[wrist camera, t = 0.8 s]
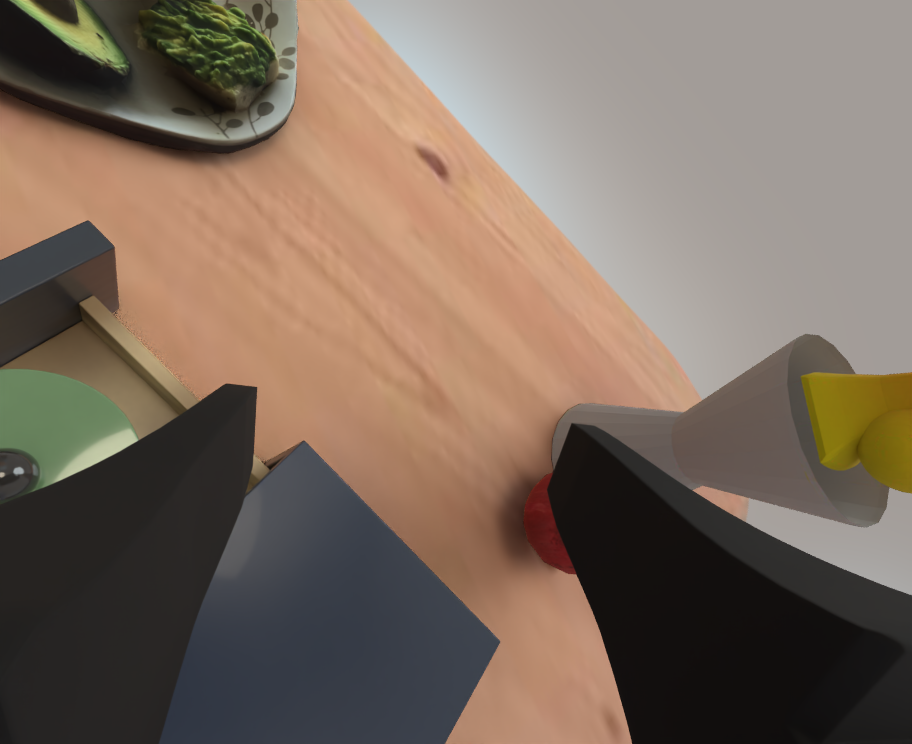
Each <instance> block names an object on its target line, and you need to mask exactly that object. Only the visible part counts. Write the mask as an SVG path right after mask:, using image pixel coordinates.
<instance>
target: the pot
mask: <svg viewBox="0 0 912 744" xmlns="http://www.w3.org/2000/svg"><path fill="white" fill-rule="evenodd" d="M138 440H139V438H138V436H137V434H136V432H135V430H134V427H133V425H132V424H131V422H130V421H129V419H128V418H127V416H126V415H125V414H124V413H123V411H122V410H121V409H120V408H119V407H118V406H117V405H116V404H115V403H114V402H113V401H111V400H110V399H109V398H108V397H107V396H105V395H104V394H102V393H101V392H99V391H98V390H96V389H95V388H93V387H91V386H89V385H87V384H85V383H83V382H81V381H78V380H76V379H73V378H70V377H67V376H64V375H60V374H56V373H51V372H47V371H40V370H31V369H0V504H2V503H5V502H8V501H10V500H13V499H15V498H18V497H20V496H23V495H25V494H28V493H30V492H33V491H35V490H38V489H40V488H43V487H46V486H48V485H51V484H53V483H55V482H57V481H60V480H62V479H64V478H66V477H69V476H71V475H73V474H75V473H77V472H79V471H81V470H84V469H86V468H88V467H90V466H92V465H94V464H96V463H98V462H100V461H102V460H104V459H106V458H108V457H110V456H112V455H114V454H116V453H117V452H119V451H121V450H123V449H125V448H126V447H128V446H130V445H131V444H133V443H135V442H137V441H138Z"/></svg>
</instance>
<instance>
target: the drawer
mask: <svg viewBox="0 0 912 744" xmlns="http://www.w3.org/2000/svg"><path fill="white" fill-rule="evenodd" d="M118 309H119V300H118V286H117V272H116V258H115V247H114V245H113V244H112V243H111V242H110V241H109V240H108V239H107V238H106V237H105V236H104V235H103V234H102V233H101V232H100V231H99V230H98V229H97V228H96V227H95V226H94V225H93V224H92V223H91V222H90V221H85V222H83V223H81V224H79V225H76V226H74V227H72V228H70V229H68V230H66V231H63V232H61V233H59V234H57V235H55V236H52V237H50V238H48V239H46V240H44V241H41V242H39V243H37V244H35V245H33V246H31V247H28V248H26V249H24V250H22V251H20V252H17V253H15V254H13V255H11V256H9V257H6V258H4V259H2V260H0V369H31V370H40V371H47V372H51V373H56V374H60V375H64V376H67V377H70V378H73V379H76V380H78V381H81V382H83V383H85V384H87V385H89V386H91V387H93V388H95V389H96V390H98V391H99V392H101V393H102V394H104V395H105V396H107V397H108V398H109V399H110V400H111V401H113V402H114V403H115V404H116V405H117V406H118V407H119V408H120V409H121V410H122V411H123V413H124V414H125V415H126V416H127V418H128V419H129V421H130V422H131V424H132V425H133V427H134V430H135V432H136V434H137V436H138V438H139V440H140V439H142V438H143V437H145V436H147V435H149V434H150V433H152V432H154V431H155V430H157V429H159V428H161V427H162V426H164V425H165V424H167V423H168V422H170V421H171V420H173V419H174V418H176V417H177V416H179V415H181V414H182V413H184V412H185V411H186V410H188V409H189V408H191V407H192V406H194V405H195V404H197V403H198V402H200V400H199V399H198V398H197V397H196V396H195V395H194V394H193V393H192V392H191V391H190V390H189V389H188V388H187V387H186V386H185V385H184V384H183V383H182V382H181V381H180V380H179V379H178V378H177V377H176V376H175V375H174V374H173V373H172V372H171V371H170V370H169V369H168V368H167V367H166V366H164V365H163V364H162V363H161V362H160V361H159V360H158V359H157V358H156V357H155V356H154V355H153V354H152V353H151V352H150V351H149V350H148V349H147V348H146V347H145V346H144V345H143V344H142V343H141V342H140V341H139V340H138V339H137V338H136V337H135V336H134V335H133V334H132V333H131V332H130V331H129V330H128V329H127V328H126V327H125V326H124V325H123V324H122V323H121V322H120V321H119V320H118V319H117V318H116V317H115V316H114V315H113V314H112V313H113V312H115V311H117V310H118ZM269 471H270V470H269V469H268V468H267V467H266V466H265V465H264V464H263V463H262V462H261V461H260V460H259V459H258V458H257V457H256V456H255V455H253V468H252V472H251V475H250V479H249V483H248V487H247V491H246V493H247V492H248V491H249V490H250V489H251V488H252V487H253V486H254V485H255V484H256V483H258V482H259V481H260V480H261V479H262V478H263V477H264V476H265V475H266V474H267V473H268V472H269Z"/></svg>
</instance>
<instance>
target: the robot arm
mask: <svg viewBox="0 0 912 744" xmlns="http://www.w3.org/2000/svg"><path fill="white" fill-rule="evenodd" d="M256 399H257V387H252V386H243V385H234V384H225V385H223V386H222V387H220V388H219V389H217V390H216V391H214V392H213V393H211V394H210V395H208V396H207V397H205V398H204V399H202V400H201V401H200V402H198V403H197V404H195V405H194V406H192V407H191V408H189V409H188V410H186V411H185V412H184V413H182V414H181V415H179V416H177V417H176V418H174V419H173V420H171V421H170V422H168V423H167V424H165V425H164V426H162V427H161V428H159V429H157V430H155V431H154V432H152V433H150V434H149V435H147V436H145V437H143V438H142V439H140V440H138V441H137V442H135V443H133V444H131V445H130V446H128V447H126V448H125V449H123V450H121V451H119V452H117V453H116V454H114V455H112V456H110V457H108V458H106V459H104V460H102V461H100V462H98V463H96V464H94V465H92V466H90V467H88V468H86V469H84V470H81V471H79V472H77V473H75V474H73V475H71V476H69V477H66V478H64V479H62V480H60V481H57V482H55V483H53V484H51V485H48V486H46V487H43V488H40V489H38V490H35V491H33V492H30V493H28V494H25V495H23V496H20V497H18V498H15V499H13V500H10V501H8V502H5V503H2V504H0V744H159V742H160V738H161V735H162V731H163V728H164V724H165V721H166V718H167V714H168V711H169V707H170V704H171V700H172V697H173V693H174V690H175V687H176V683H177V680H178V676H179V673H180V670H181V667H182V663H183V660H184V657H185V653H186V650H187V647H188V643H189V640H190V637H191V634H192V630H193V627H194V624H195V621H196V619H197V616H198V613H199V611H200V608H201V605H202V602H203V600H204V598H205V595H206V593H207V590H208V588H209V586H210V583H211V581H212V578H213V576H214V574H215V571H216V569H217V566H218V564H219V562H220V559H221V557H222V554H223V552H224V550H225V547H226V545H227V542H228V540H229V538H230V535H231V533H232V530H233V528H234V525H235V523H236V521H237V518H238V516H239V513H240V511H241V508H242V505H243V501H244V498H245V494H246V491H247V487H248V483H249V479H250V475H251V472H252V468H253V455H254V437H255V418H256ZM547 493H548V497H549V501H550V505H551V509H552V513H553V516H554V520H555V523H556V527H557V529H558V532H559V534H560V537H561V539H562V541H563V544H564V546H565V549H566V551H567V553H568V556H569V558H570V560H571V563H572V565H573V567H574V570H575V572H576V574H577V577H578V579H579V581H580V583H581V586H582V588H583V590H584V593H585V595H586V597H587V600H588V602H589V604H590V607H591V609H592V611H593V614H594V617H595V619H596V622H597V624H598V627H599V630H600V632H601V636H602V639H603V642H604V645H605V648H606V652H607V655H608V658H609V661H610V664H611V667H612V671H613V674H614V677H615V681H616V684H617V688H618V692H619V695H620V699H621V702H622V706H623V709H624V713H625V716H626V720H627V724H628V728H629V732H630V736H631V740H632V744H912V595H909V594H906V593H903V592H901V591H897V590H895V589H892V588H889V587H887V586H884V585H881V584H879V583H876V582H874V581H871V580H869V579H866V578H864V577H861V576H859V575H856V574H854V573H851V572H849V571H847V570H844V569H842V568H839V567H837V566H835V565H832V564H830V563H828V562H825V561H823V560H821V559H819V558H816V557H814V556H812V555H810V554H808V553H805V552H803V551H801V550H799V549H797V548H795V547H793V546H791V545H789V544H787V543H785V542H782V541H780V540H778V539H776V538H774V537H772V536H770V535H768V534H766V533H765V532H763V531H761V530H759V529H757V528H755V527H753V526H751V525H750V524H748V523H746V522H744V521H742V520H741V519H739V518H737V517H735V516H733V515H732V514H730V513H728V512H726V511H725V510H723V509H721V508H720V507H718V506H716V505H715V504H713V503H711V502H710V501H708V500H707V499H705V498H703V497H702V496H700V495H699V494H697V493H696V492H694V491H692V490H691V489H689V488H688V487H686V486H685V485H683V484H682V483H680V482H679V481H677V480H676V479H674V478H673V477H671V476H670V475H668V474H667V473H665V472H664V471H662V470H661V469H660V468H658V467H657V466H655V465H654V464H652V463H651V462H650V461H648V460H647V459H645V458H644V457H642V456H641V455H640V454H638V453H637V452H635V451H634V450H632V449H631V448H630V447H628V446H627V445H625V444H624V443H622V442H621V441H619V440H618V439H616V438H615V437H613V436H612V435H610V434H609V433H607V432H605V431H604V430H602V429H600V428H598V427H596V426H594V425H586V424H577V423H571V426H570V428H569V431H568V434H567V436H566V439H565V442H564V444H563V447H562V450H561V452H560V455H559V458H558V460H557V463H556V466H555V469H554V471H553V474H552V477H551V479H550V482H549V485H548V487H547Z"/></svg>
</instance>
